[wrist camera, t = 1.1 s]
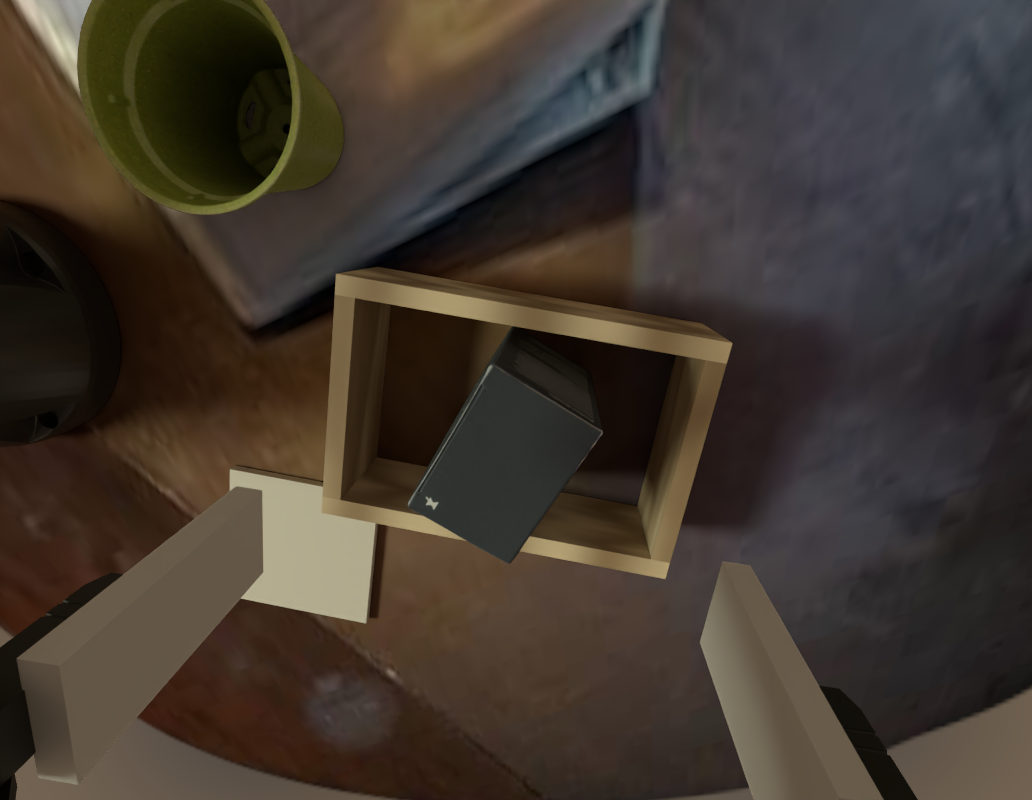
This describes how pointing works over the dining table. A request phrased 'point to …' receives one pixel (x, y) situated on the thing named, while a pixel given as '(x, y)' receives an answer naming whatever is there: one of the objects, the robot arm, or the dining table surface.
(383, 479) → the crate
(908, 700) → the dining table surface
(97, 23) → the plant pot
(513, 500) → the box
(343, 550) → the plate
